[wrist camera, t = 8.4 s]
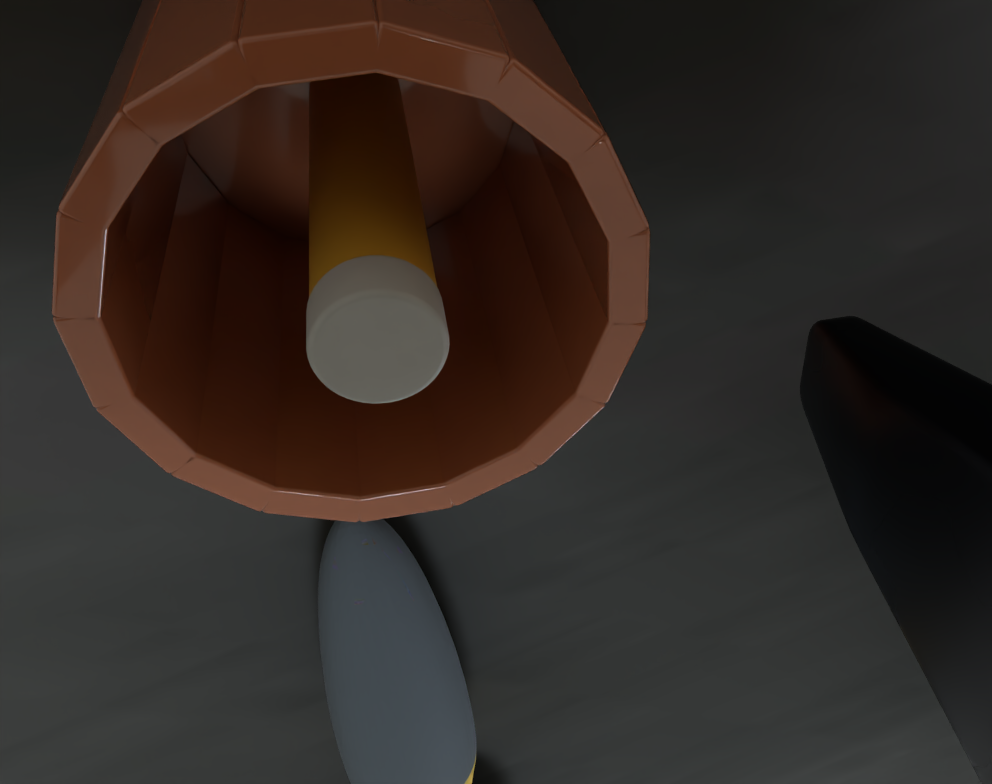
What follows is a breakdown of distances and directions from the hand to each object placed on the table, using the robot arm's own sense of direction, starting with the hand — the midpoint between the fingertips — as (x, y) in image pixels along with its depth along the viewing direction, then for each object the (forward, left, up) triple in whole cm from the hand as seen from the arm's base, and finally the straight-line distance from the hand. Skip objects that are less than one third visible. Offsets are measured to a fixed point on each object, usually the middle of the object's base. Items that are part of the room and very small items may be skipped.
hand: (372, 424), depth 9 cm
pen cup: (0, 0, -9) cm, 9 cm away
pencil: (0, 0, -8) cm, 8 cm away
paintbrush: (+2, +19, -9) cm, 21 cm away
